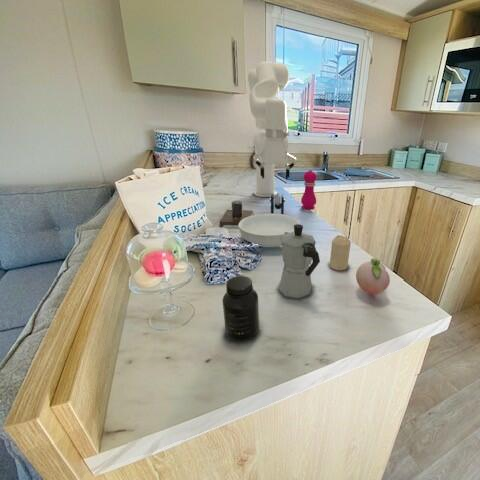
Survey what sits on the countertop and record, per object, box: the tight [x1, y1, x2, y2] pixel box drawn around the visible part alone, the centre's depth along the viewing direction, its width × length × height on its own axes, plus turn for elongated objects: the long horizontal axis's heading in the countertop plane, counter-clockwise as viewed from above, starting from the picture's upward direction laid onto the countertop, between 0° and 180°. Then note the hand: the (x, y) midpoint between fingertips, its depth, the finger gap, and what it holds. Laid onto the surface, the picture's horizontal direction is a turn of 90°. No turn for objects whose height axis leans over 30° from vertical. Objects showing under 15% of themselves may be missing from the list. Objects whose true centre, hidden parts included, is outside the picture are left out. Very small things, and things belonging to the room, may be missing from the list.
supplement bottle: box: [222, 275, 260, 342], centre depth 55 cm, size 7×7×12 cm
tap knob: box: [231, 200, 243, 217], centre depth 110 cm, size 4×4×6 cm
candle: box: [329, 234, 351, 271], centre depth 83 cm, size 6×6×10 cm
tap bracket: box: [269, 194, 286, 215], centre depth 111 cm, size 12×9×12 cm
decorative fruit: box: [355, 257, 391, 295], centre depth 71 cm, size 9×8×10 cm
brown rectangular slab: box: [219, 209, 254, 228], centre depth 111 cm, size 14×11×3 cm
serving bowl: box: [237, 212, 301, 248], centre depth 96 cm, size 21×21×7 cm
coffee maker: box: [278, 223, 321, 300], centre depth 68 cm, size 15×9×18 cm, turn 36°
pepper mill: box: [300, 167, 318, 211], centre depth 128 cm, size 7×7×20 cm
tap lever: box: [274, 195, 281, 210], centre depth 114 cm, size 13×3×3 cm, turn 6°
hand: (275, 178), depth 114 cm, fingers open, 9 cm apart
